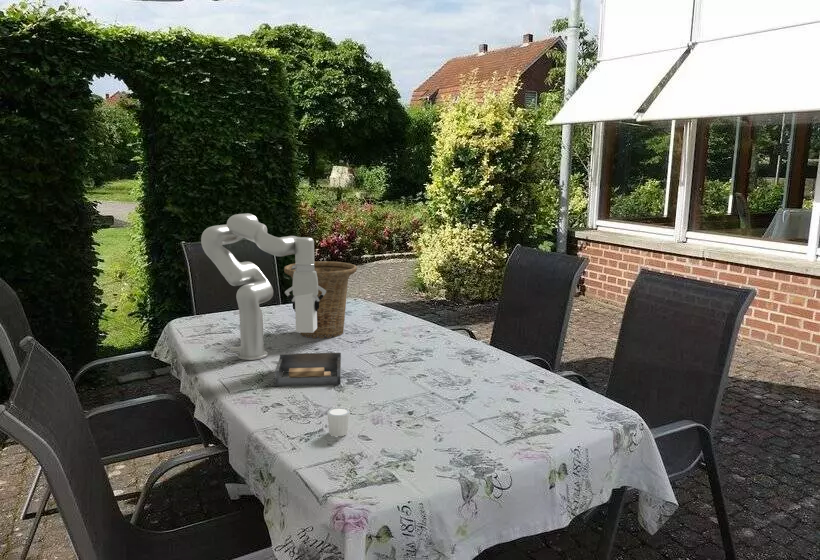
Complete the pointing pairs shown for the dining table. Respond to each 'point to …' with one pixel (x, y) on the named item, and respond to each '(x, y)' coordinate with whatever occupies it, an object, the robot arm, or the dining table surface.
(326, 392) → the dining table surface
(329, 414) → the white cylinder
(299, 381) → the dark grey tray
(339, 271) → the wicker basket
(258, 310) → the robot arm
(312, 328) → the milk carton
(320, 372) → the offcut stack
